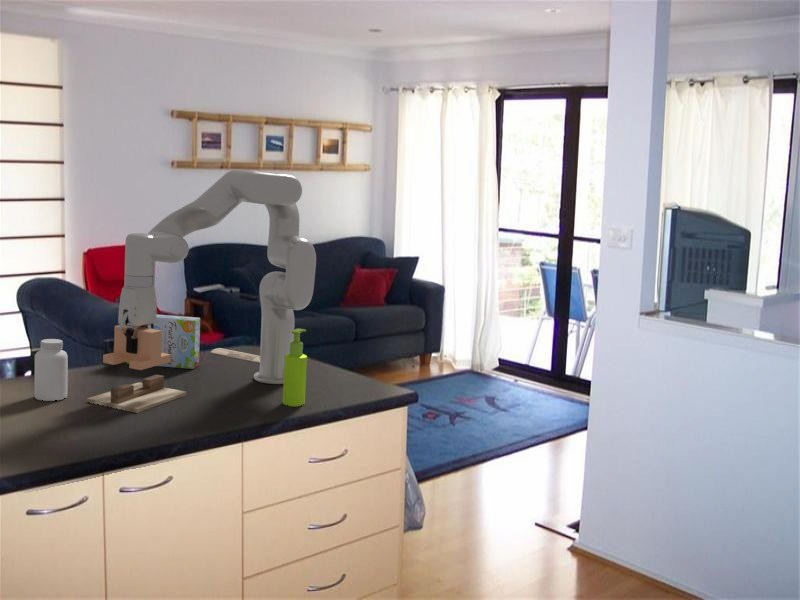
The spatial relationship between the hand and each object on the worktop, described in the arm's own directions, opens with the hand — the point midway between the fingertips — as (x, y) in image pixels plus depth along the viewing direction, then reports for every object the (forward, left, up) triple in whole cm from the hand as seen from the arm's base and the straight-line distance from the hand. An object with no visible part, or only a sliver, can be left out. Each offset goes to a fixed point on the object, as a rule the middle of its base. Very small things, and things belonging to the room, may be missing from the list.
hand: (137, 350), depth 239 cm
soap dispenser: (-35, -21, -13) cm, 43 cm away
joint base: (0, 0, -13) cm, 13 cm away
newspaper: (+4, -56, -14) cm, 58 cm away
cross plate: (0, 0, -3) cm, 3 cm away
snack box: (+18, -33, -13) cm, 40 cm away
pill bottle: (+18, +12, -13) cm, 25 cm away
